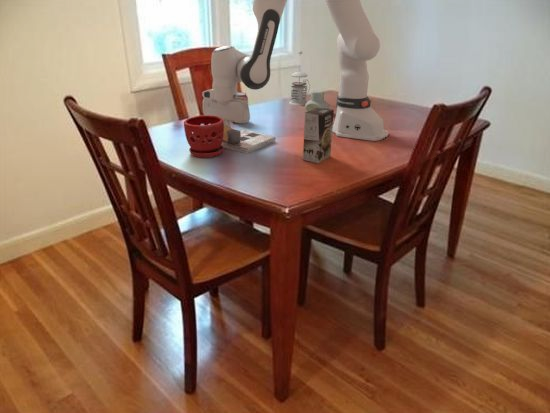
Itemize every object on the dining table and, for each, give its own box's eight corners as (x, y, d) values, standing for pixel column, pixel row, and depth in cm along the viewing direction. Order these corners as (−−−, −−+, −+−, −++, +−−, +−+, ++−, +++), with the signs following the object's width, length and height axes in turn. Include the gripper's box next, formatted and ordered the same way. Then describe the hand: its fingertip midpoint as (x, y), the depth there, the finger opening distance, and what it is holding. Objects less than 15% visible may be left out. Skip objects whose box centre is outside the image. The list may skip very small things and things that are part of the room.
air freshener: (331, 112, 209) (332, 91, 205) (323, 116, 203) (324, 94, 199) (310, 109, 214) (311, 88, 210) (302, 113, 208) (302, 91, 204)
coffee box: (319, 163, 147) (322, 115, 140) (302, 159, 150) (304, 112, 143) (331, 156, 154) (334, 109, 147) (314, 152, 157) (317, 106, 150)
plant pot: (202, 145, 163) (200, 112, 158) (232, 152, 157) (231, 118, 152) (178, 155, 153) (175, 120, 147) (208, 162, 147) (206, 126, 141)
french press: (299, 100, 233) (300, 49, 222) (314, 104, 225) (317, 51, 214) (284, 102, 228) (285, 50, 217) (300, 106, 220) (302, 53, 209)
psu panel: (275, 141, 168) (275, 136, 167) (247, 153, 155) (246, 147, 154) (242, 134, 176) (242, 129, 175) (212, 144, 164) (212, 139, 163)
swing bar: (217, 130, 171) (217, 122, 170) (243, 141, 160) (243, 132, 159) (206, 133, 168) (205, 124, 167) (232, 143, 157) (231, 134, 156)
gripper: (253, 95, 159) (254, 133, 165) (210, 89, 170) (212, 124, 176) (242, 99, 155) (243, 137, 161) (198, 91, 165) (201, 128, 171)
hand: (226, 131), depth 169 cm, fingers closed
